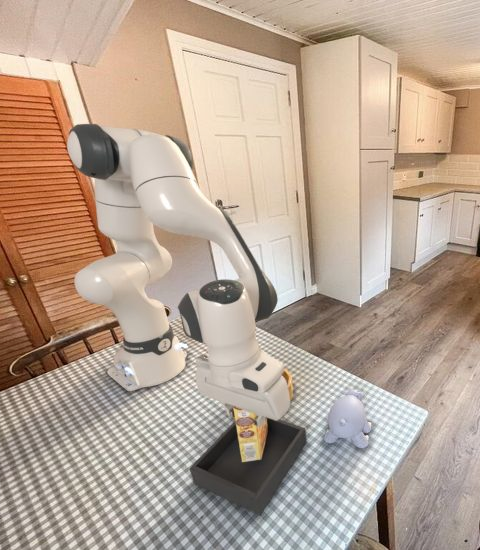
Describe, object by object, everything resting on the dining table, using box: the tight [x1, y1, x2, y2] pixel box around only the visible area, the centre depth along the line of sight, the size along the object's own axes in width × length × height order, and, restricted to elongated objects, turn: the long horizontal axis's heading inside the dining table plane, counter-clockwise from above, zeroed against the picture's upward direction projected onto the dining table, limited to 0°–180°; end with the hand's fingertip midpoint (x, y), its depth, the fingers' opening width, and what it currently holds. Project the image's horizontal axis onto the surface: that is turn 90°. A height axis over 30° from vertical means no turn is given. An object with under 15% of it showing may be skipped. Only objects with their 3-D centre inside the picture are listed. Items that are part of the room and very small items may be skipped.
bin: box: [189, 417, 307, 517], centre depth 66 cm, size 17×17×5 cm
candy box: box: [233, 406, 268, 462], centre depth 65 cm, size 9×4×15 cm, turn 9°
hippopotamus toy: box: [323, 388, 373, 449], centre depth 74 cm, size 11×15×10 cm
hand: (246, 419), depth 62 cm, fingers closed on candy box, 5 cm apart
